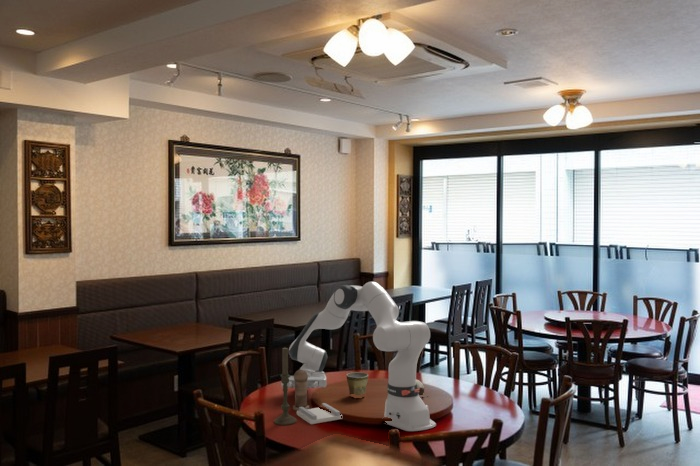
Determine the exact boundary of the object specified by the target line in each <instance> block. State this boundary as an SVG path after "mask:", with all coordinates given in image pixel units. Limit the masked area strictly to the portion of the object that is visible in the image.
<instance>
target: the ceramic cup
mask: <svg viewBox="0 0 700 466" xmlns="http://www.w3.org/2000/svg"><path fill="white" fill-rule="evenodd" d="M345 375H346V381H347V384H348V390H349V394H350V393H351V394H355V395H362V394H365V395H366V388H367V383H368V380H369V374H368V373H366V372H362V371H361V372H360V371H359V372H357V371H354V372H349V373H346V374H345Z"/></svg>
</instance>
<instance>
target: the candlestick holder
mask: <svg viewBox="0 0 700 466" xmlns="http://www.w3.org/2000/svg"><path fill="white" fill-rule="evenodd" d="M281 350H282V351H281V353H282V355H281V356H282V359H281V361H282V367H281V368H282V374H280V378H281V380H280V382H282V383H283V384H284V385H283V387H282V392H283V393H282V394H283V403H282V404H281V405H280V408H281V410H282V413H281V415H278V416H277V417H276V418H275V419H274V420H273V423H274V424H276V425H279V426H290V425H294V424H296V423H297V422H298V419H297V418H296V417H295V416H293V415H291V414H289V410H290V407H291V405H290V404H289V403H288V391H289V387H288V386H287V383H289V377H290V376H291V375H290V374H289V372H288V371H289V356H288V355H289V348H288V347H282V348H281Z"/></svg>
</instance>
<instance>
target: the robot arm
mask: <svg viewBox="0 0 700 466" xmlns="http://www.w3.org/2000/svg"><path fill="white" fill-rule="evenodd" d="M351 311H353V312H354V311H355V312H369V313H370V315H371V317H372V319H373V320H374V322H375V324H376V328H375V329H374V331H373V333H372V341H373V344H374V346H375V347H376V348H377V349H378V351H383V352H396V351H397V352H396V355H395V357H394V358H393V359H392V360H391V361H390V362H389V364H388V382H387V387H386V390H387V397H386V399H385V403H384V415H383V418H384V417H388V418H391V419H392V421H385V422H386V423H387V424H386V423H385V424H386V425H389V426H392V427H395V428H397V429H400V430H403V431H405V432H418V431H419V432H420V431H426V430H429V429H433V428H434V427H436V426H437V423H436V422H435V421H434V420H432V419H431V418H430V410H429V409H430V408H429V405H428V404H425V402H424V401H423V398H420V396H419V392H420V391H418V390H420V389H418V386H417V384H416V380H417V364H418V360H419V357H420V354H421V352H422V351H423V349H424V347H425V346H426V345H427V344H428V343H429V342H430V339H431V330H430V328H429V326H428V324H427V323H426V322H423V321H419V320H409V321H408V320H407V321H398V320H397V319H398V317H399V315H400V309H399V307H398V304H397V303H396V302H395V300H393V298H392V297H391V295H390V294H389V293H388V292H387V290H386V289H385V288H384V287H383V286H381V285H380V284H379V283H378V282H376V281H373V280H372V281H368V282H366V283H365V284H363V286H361V285H349V284H343V285H340V286H338V287H336V289H335V291H334V292H333V294H331V297H330V299H329V300H328V302H327V304H326V306H325V308H324V309H323V310H322V311H320V312H315V313H314V314H313V315H312V317H311V318H310V319H309V321H308V322H307V323H306V324H305V326H304V327H303V329H302V330H301V332H300V333H299V334H298V336H297V337H296V339H294V341H293V342H292V343H291V344H290V345H289V348H288V355H289V358H291V360H293V361H297V362H299V363H302V366H301V367H299V370H304V371H305V372H306V373H307V375H308V379H307V390H308V389H316V388H326V387H327V383H328V382H327V375H326V374H325V371H323V370H324V369H325V367H326V364H327V360H328V354H327V353H328V352H327V351H326V350H325V349H323V348H321V347H319V346H316V345H314V344H312V343H310V342H308V341H307V339H308V338H309V336H310V335H311V333H312V332H313V331H314V330H317V329H318V330H319V329H321V330H322V329H325V330H337V329H340V328H342V326H343V325H344V324H345V322H346V321H347V319H348V317H349V315H350V312H351ZM280 382H281V381H280ZM283 385H284V384H283V383H282V382H281V388H283ZM287 386H288V388H290V389H295V380H294V375H290V377H289V383H287Z"/></svg>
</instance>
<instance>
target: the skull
mask: <svg viewBox="0 0 700 466" xmlns="http://www.w3.org/2000/svg"><path fill="white" fill-rule="evenodd" d="M416 384H417V386H418V389H420V390H418V391H420V392H419V395H423V393H425V387H424V384H423V383H422V382H421V381H420V380H419V379H416Z"/></svg>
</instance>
